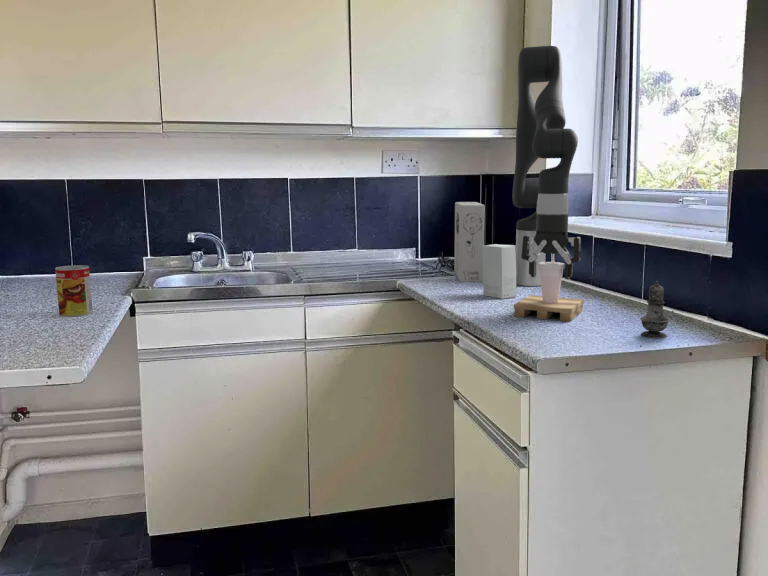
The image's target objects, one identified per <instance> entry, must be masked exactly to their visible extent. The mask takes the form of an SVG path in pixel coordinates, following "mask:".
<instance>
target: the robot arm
mask: <svg viewBox="0 0 768 576" xmlns="http://www.w3.org/2000/svg"><path fill="white" fill-rule="evenodd" d="M517 61H518V62H517V63H518V66H517V71H518V72H517V77H518V78H517V79H518V81H517V86H518V87H517V88H518V101H517V102H518V104H517V119H516V120H517V121H516V132H515V166H514V176H513V182H512V183H513V184H512V192H511V193H512V203H513V205H514V207H516V208H519V209H525V208H526V209H535V210H536V211H535V212H534V213H532V214H531V215H529V216H527V217H525V218H522V219H518V220H517V222H516V225H515V226H516V229H515V231H516V235H515V240H516V241H515V252H516V286H517V285H518V286H527V287H539V286H540V287H541V278H540V268H539V267H538V266H539V263H541V262H546V257H547V256H546V255H547V254H551V255H552V254H555V255H558V254H559V255H560V256H561V258H563V260H564V262H565V263H566V264H565V268H564V269H565V273H564V274H565V275H564V278H565V280H569V279H570V278H571V277H573V274H574V270H573V269H574V264H575V263H578V262H580V261H581V260H582V238H581V237H580V236H576V237H569V235H568V233H569V232H568V230H569V180H570V179H569V178H570V177H569V176H570V171H571V167H572V163H573V159H574V157H575V154H576V151H577V148H578V142H579V138H578V136H577V133H576V131H575V130H574V129H573V128H565V126H566V123H567V119H566V114H565V108H564V104H563V103H564V102H563V65H562V64H563V62H562V55H561V51H560V48H559V47H557V46H556V45H542V46H541V45H540V46H528V47H527V46H526V47H524V48H521V50H520V51H519V54H518V60H517ZM532 83H535V84H537V83H547V84H546V86H545V87H544V88H543V89H542V91H541V92H540V93H539V94H538V96H537V97H536V98H537V99H536V98H535V96H534V94H533V92H532V89H531V88H532V87H531V84H532ZM538 159H543V160H544V159H560V161H559V163H558V164H557V165H556V166H553V167H550V168H549V167H548V168H545V169H542V170H541V171H540V172H539V175H538V177H527V174H528V172H529V170H530V169H531V167H532V166H533V165H534V163H536V161H537V160H538ZM569 243H570V245H571V247H573V257H572V256H571V254H570V252H569V250H568V249H567V247H566V246H567V245H568V244H569Z"/></svg>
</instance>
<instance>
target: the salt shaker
mask: <svg viewBox="0 0 768 576" xmlns="http://www.w3.org/2000/svg"><path fill="white" fill-rule="evenodd" d="M664 290H665V289H664V287H663V286H662V285H660V284H659V281H658V280H656V281H655V283H654V284H653V285H650V286H649V290H648V300H647V301H646V303H647V313H646V315H645V316H642V317H640V319H639V320H641V325H642V327H643V329H644V330H645V331H643V332H640V336H641V337H645V338H649V339H665V338H667V337H668V335H667V334H666V333H665V332H664V330H665V329H666V328H667V327H668V324H669V322H670V319H669V318H667V317H666V316H664V304H665V303H666V302H665V301H664V293H665V292H664ZM662 331H663V332H662Z"/></svg>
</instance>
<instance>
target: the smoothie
mask: <svg viewBox="0 0 768 576" xmlns="http://www.w3.org/2000/svg"><path fill="white" fill-rule="evenodd" d="M551 255H552V256H551V261H545V262H541V263H539V266H538V267H539V268H540V278H541V285H540V287H541V296H542V299H543V302H544V303H558V299H559V298H560V292H561V286H562V280H563V274H564V269H566V264H565V263H563V262H559V261H557V262H556V261H555V255H556V254H552V253H551Z"/></svg>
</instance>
